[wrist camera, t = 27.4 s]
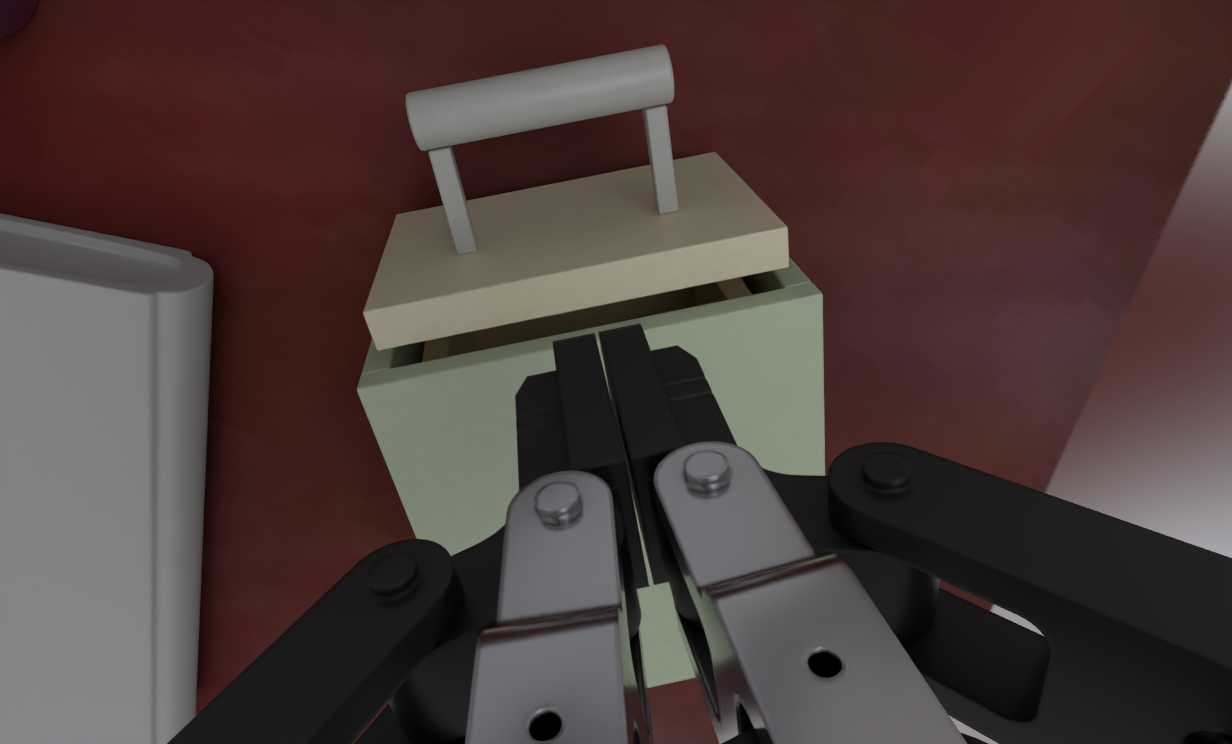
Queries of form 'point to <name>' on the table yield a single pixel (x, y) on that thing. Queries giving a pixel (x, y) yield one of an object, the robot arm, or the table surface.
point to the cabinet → (713, 333)
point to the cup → (15, 15)
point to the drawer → (564, 220)
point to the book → (100, 484)
